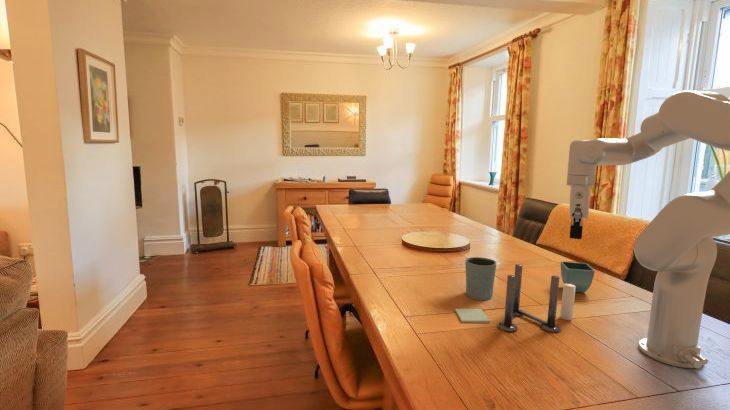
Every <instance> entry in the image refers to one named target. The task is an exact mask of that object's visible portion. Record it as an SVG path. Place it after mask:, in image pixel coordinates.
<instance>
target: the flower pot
mask: <svg viewBox="0 0 730 410" xmlns="http://www.w3.org/2000/svg"><path fill="white" fill-rule="evenodd" d="M595 272H596V270H595V269H594V268H592V267H591V266H590V265H589V264H588V263H585V262H573V261H560V276H561V280H562V282H563V284H572V285H575V286H576V288H575V293H586V292H587V291H588V290H589V289H590V287H591V286H592V284H593V280H594V276H595V274H596V273H595Z"/></svg>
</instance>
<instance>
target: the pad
mask: <svg viewBox="0 0 730 410" xmlns="http://www.w3.org/2000/svg"><path fill="white" fill-rule="evenodd" d="M455 312H456V315H457V316H458V318H459V319H460V321H461V323H467V324H468V323H473V324H474V323H475V324H476V323H477V324H478V323H481V324H484V323H485V324H486V323H487V324H490V322H491V321H490V319H489V318H488V316H487V315H486V313H485V311H483V309H482V308H455Z"/></svg>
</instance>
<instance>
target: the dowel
mask: <svg viewBox="0 0 730 410" xmlns="http://www.w3.org/2000/svg"><path fill="white" fill-rule="evenodd" d="M575 288H576V286H575V285H572V284H564V283H563V284H562V294H561V305H560V317H559V318H560V319H562V320H564V321H573V319H574V318H573V315H574V305H575V298H576V297H575V295H576V292H575Z"/></svg>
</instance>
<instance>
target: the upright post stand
mask: <svg viewBox="0 0 730 410" xmlns="http://www.w3.org/2000/svg"><path fill="white" fill-rule="evenodd" d="M522 276H523V265H522V264H521V263H520V264H518V263H516V264H515V265H514V275H513V274H507V276H506V277H507V278H506V291H505V304H504V305H505V306H504V318H503V319H504V320H503V321H500V322H499V323H497V328H498V329H499V330H501V331H502V332H507V333H514V332H517V331H518V326H517V325H516V324H515V323H513V320H514V318H515V317H523V316H524V317H526V318H529V319H530V320H533V321H535V322H537V323H540V329H542V330H543V331H545V332H549V333H553V334H555V333H557V334H558V333H560V332H561V331H562V330H561V329H562V328H561V326H560V325H558V324H556V319H557V317H556V316H557V309H558V308H557V307H558V297H559V286H560V276H557V275H551V277H550V285H549V287H550V289H549V299H548V310H547V318H546V319H547V320H545V319H542V318H539V317H537V316H534V315H532V314H530V313H529V312H525V311H524V310H523V309H520V301H521V300H520V299H521V291H522V290H521V289H522Z"/></svg>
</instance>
